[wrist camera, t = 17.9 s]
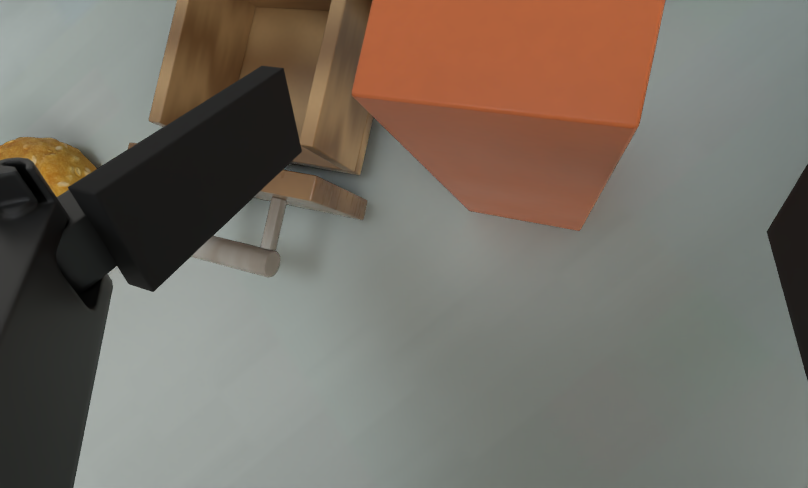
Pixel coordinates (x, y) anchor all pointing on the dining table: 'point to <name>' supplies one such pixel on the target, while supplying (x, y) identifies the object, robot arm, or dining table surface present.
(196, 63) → the drawer
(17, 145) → the bagel
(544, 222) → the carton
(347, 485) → the dining table surface
